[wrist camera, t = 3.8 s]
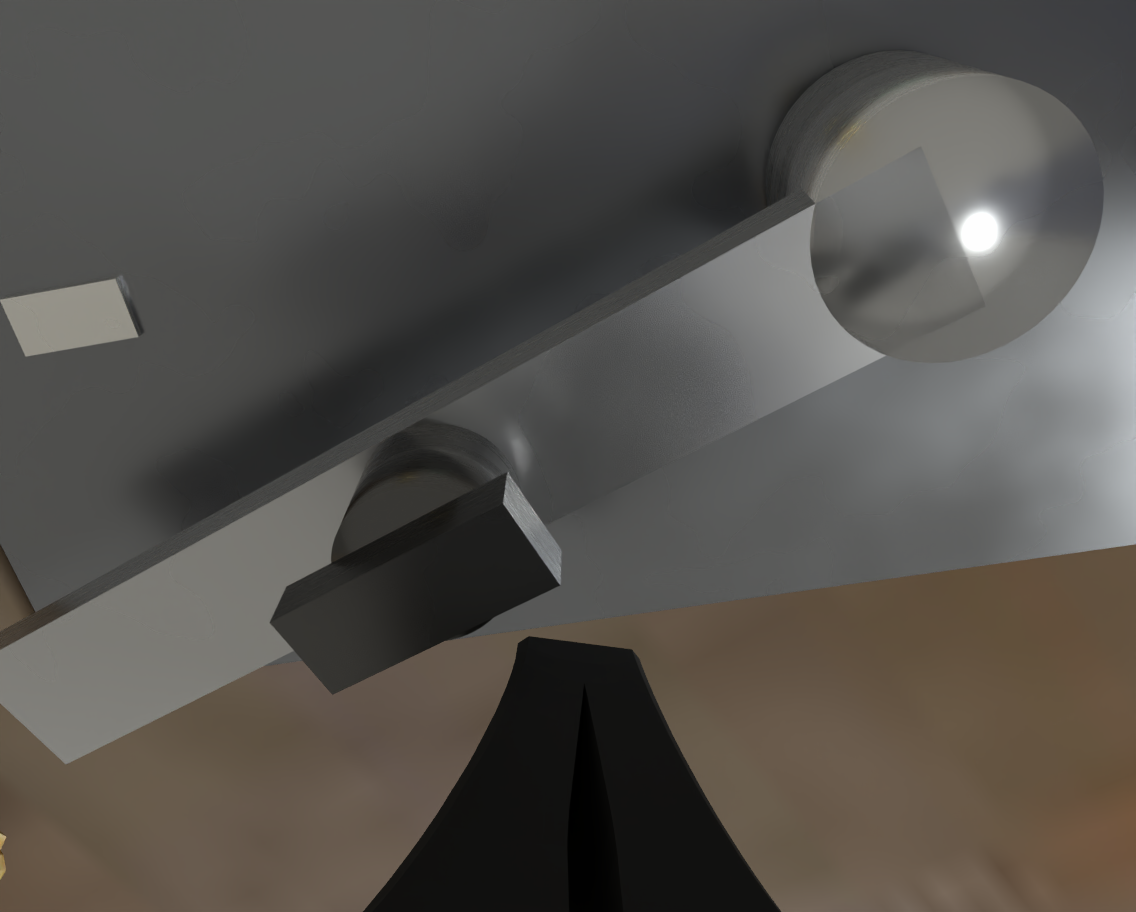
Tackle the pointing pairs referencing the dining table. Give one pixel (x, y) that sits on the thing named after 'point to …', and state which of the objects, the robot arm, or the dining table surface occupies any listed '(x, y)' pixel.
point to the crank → (597, 403)
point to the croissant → (0, 862)
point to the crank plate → (508, 275)
